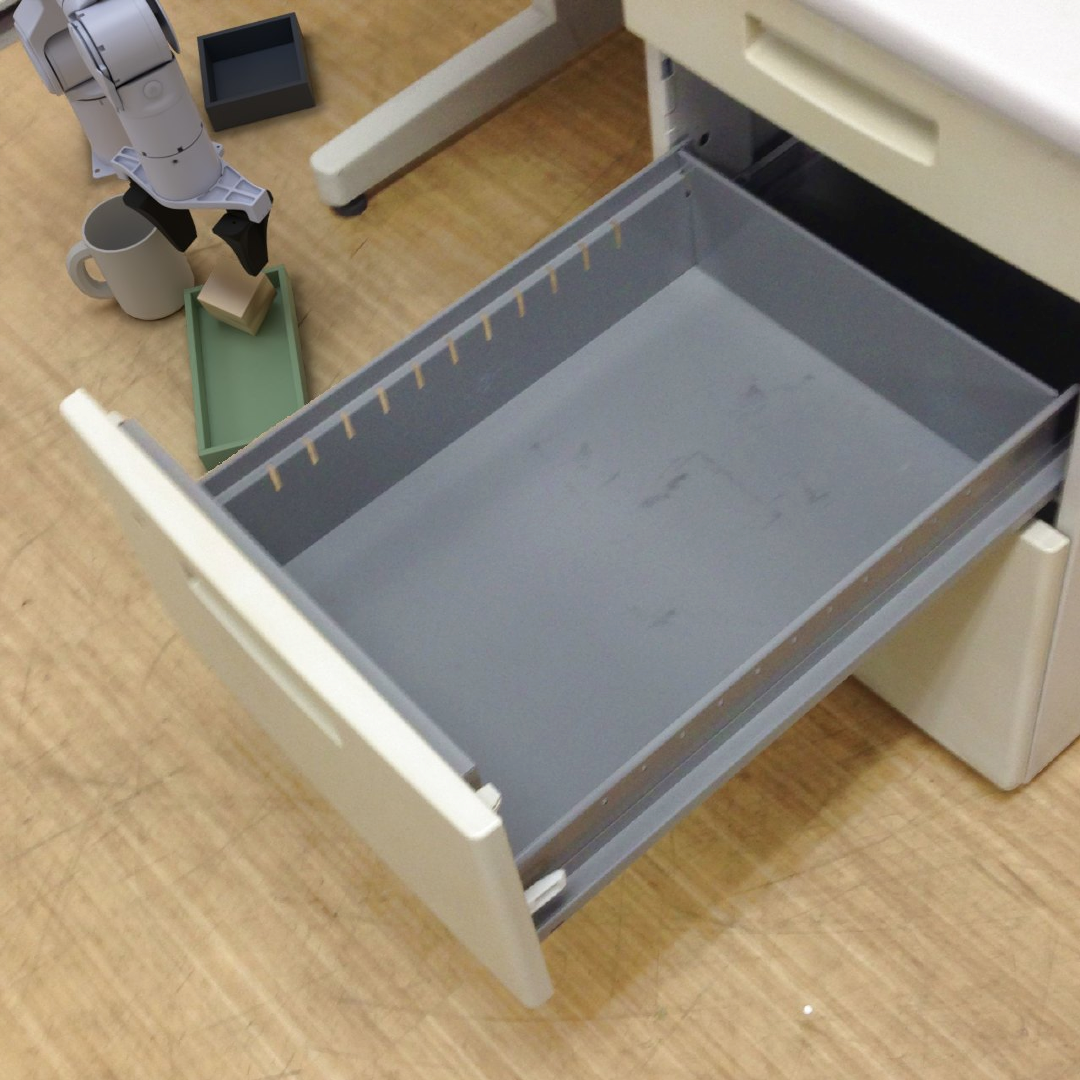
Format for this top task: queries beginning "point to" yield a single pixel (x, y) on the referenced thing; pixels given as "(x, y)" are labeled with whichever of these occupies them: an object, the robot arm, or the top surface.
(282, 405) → the tray
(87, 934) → the top surface
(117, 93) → the robot arm
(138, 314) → the cup
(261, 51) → the dark grey open box
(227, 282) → the block
